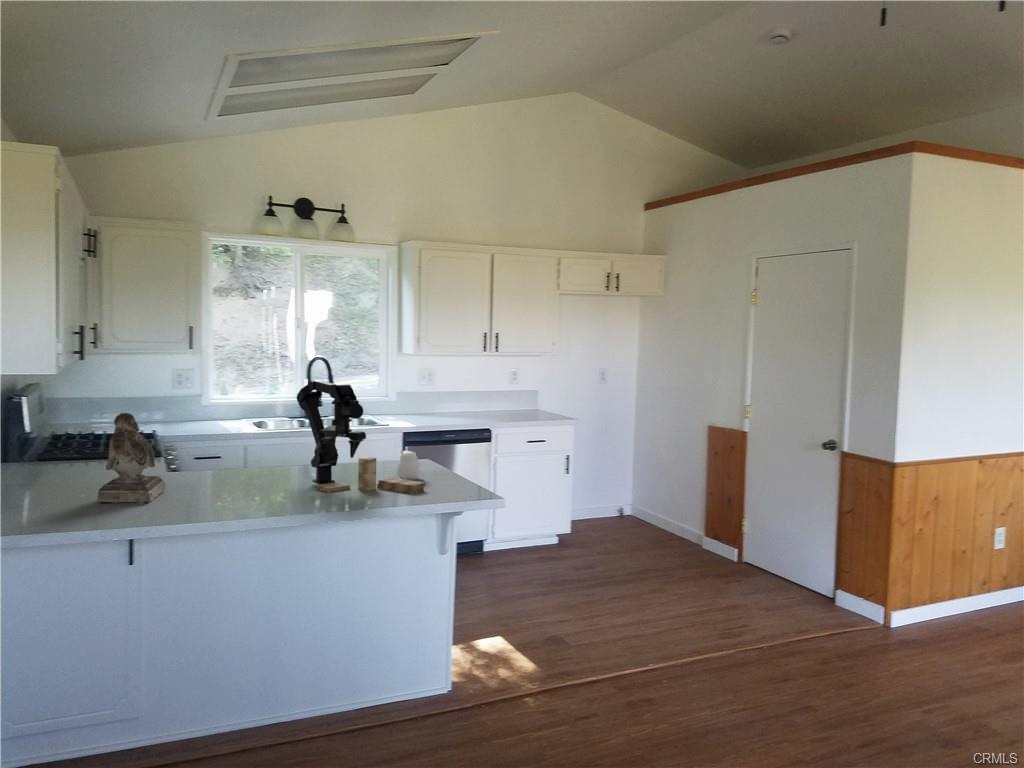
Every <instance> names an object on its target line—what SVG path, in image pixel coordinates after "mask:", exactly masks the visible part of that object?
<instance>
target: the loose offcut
mask: <svg viewBox="0 0 1024 768" xmlns="http://www.w3.org/2000/svg"><path fill="white" fill-rule="evenodd" d="M316 488H318V489H321V490H323V491H322V492H324V491H326V492H328V493H330V492H329V491H334V492H338V491H337V490H341V491H346V490H345V489H347V490H350V489H351V484H348V483H345V482H341V481H336V482H328V483H321V484H317V485H316ZM318 489H317V490H318ZM321 490H320V491H321ZM326 492H325V493H326Z"/></svg>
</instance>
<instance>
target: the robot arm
mask: <svg viewBox="0 0 1024 768" xmlns="http://www.w3.org/2000/svg"><path fill="white" fill-rule="evenodd" d="M323 394H326V395H327V394H328V395H329V396H330V398H332V399H334V400H332V402H331V405H333V407H334V408H333V410H334V411H333V412H334V414H333V415H334V416H333V417H334V418H333V419H331V424H329V425H328V426H326V427H325V426H324V422H323V420H322V417H321V413H320V411H319V407H320V403H321V400H320V399H321V398H322V396H323ZM296 401H297V403H298V405H299V408H300V409H302V411H304V413H306V417H307V419H308V422H309V426H310V429H311V432H312V435H313V438H314V439H313V440H314V442H315V447H314V448H315V449H314V451H313V452H314V456H313V457H312V459H311V460H310V464H311V465H310V466H311V467H312V468H315V470H316V471H315V474H316V475H315V477H316V478H315V479H312V482H314V481H316V482H315V483H317V482H319V483H318V484H327V483H326V482H328V483H336V482H335V479H333V478H332V473H333V472H332V467H336V466H337V463H338V459H339V454H338V449H337V446H336V441H337V440H336V439H337V438H338V437H340V438H348V439H349V440H348V441H347V442H348V444H349V445H350V446H349V449H350V450H349V451H350V452H349V455H350V458H351V459H353V458H354V456H355V455H356V452H357V450H358V447H359V446H360V444H361V443H362V442H363V441H364V440H367V434H366V432H365V431H360V430H358V431H357V430H356V431H352V429H351V427H350V424H351V423H350V422H352V421H353V420H352V419H355V420H357V419H361V418H362V416H363V414H364V408H363V406H362V405H361V404H360V403H359V402H360V401H359V400H357V396H356V394H355V392H354V389H353V387H352V385H351V384H350V383H341V384H340V383H338V384H336V383H333V382H332V383H331V382H328V381H325V380H322V379H312V380H310V381H309V382H308V383H307V384H306V385H304V386H303V387H301V389H300V390H299V392H298V393H297V395H296Z"/></svg>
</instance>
